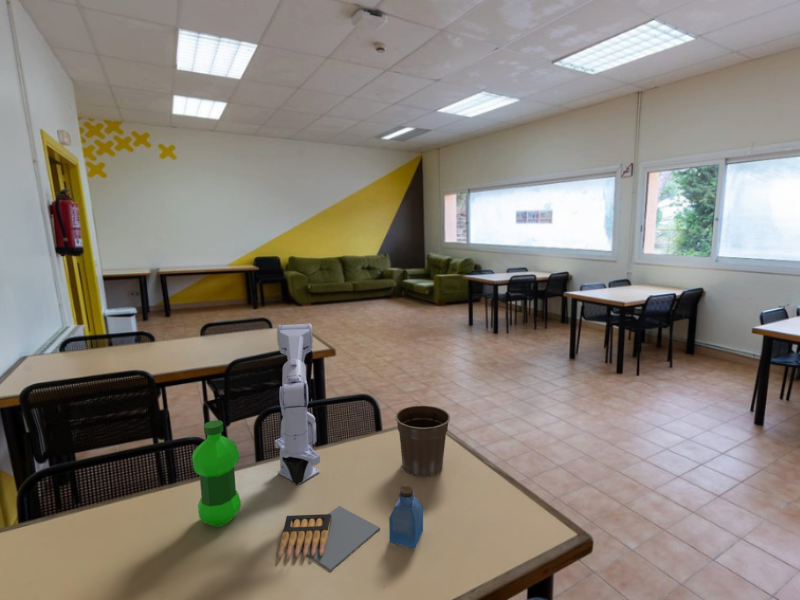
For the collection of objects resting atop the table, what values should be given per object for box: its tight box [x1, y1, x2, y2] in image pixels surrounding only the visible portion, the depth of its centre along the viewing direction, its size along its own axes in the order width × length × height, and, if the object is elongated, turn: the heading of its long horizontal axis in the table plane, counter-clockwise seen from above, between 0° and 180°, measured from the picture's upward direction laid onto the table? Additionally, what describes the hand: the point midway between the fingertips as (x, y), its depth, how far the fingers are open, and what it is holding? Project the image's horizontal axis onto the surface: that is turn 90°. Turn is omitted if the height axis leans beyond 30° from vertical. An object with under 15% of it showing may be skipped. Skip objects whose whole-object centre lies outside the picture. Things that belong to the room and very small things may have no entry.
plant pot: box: [394, 405, 451, 478], centre depth 128 cm, size 16×16×16 cm
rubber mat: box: [294, 505, 381, 572], centre depth 100 cm, size 14×16×1 cm
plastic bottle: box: [191, 419, 242, 528], centre depth 104 cm, size 10×10×25 cm
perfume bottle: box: [388, 484, 424, 549], centre depth 99 cm, size 6×6×12 cm
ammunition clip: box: [278, 513, 331, 559], centre depth 98 cm, size 11×2×12 cm
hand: (298, 482), depth 106 cm, fingers closed
